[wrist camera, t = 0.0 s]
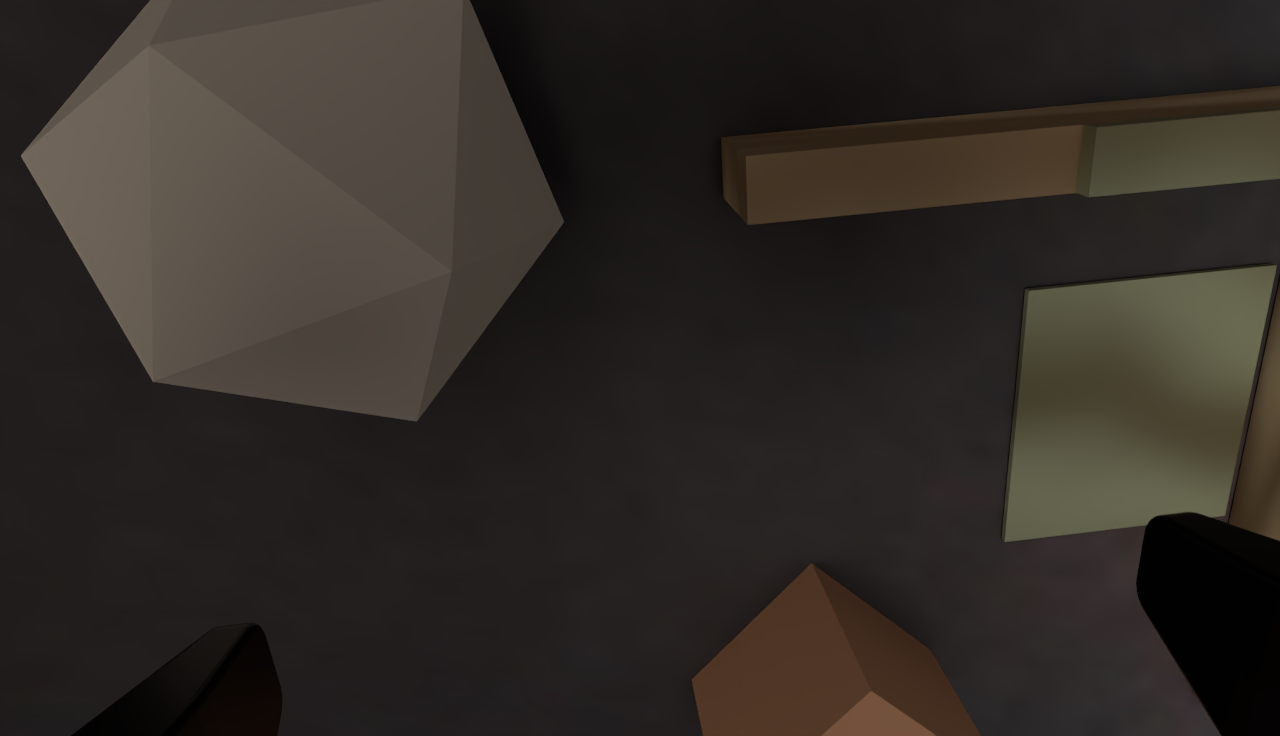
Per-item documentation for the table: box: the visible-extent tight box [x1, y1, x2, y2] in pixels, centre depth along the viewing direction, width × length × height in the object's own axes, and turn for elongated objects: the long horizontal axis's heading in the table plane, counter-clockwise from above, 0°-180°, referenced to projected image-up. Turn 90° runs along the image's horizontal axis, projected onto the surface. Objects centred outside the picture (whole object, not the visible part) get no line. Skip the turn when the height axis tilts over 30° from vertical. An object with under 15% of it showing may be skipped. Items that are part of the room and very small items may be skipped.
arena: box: [721, 86, 1280, 697], centre depth 24 cm, size 20×17×4 cm
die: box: [21, 0, 564, 421], centre depth 17 cm, size 8×9×10 cm
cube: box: [692, 563, 981, 736], centre depth 26 cm, size 6×6×6 cm
